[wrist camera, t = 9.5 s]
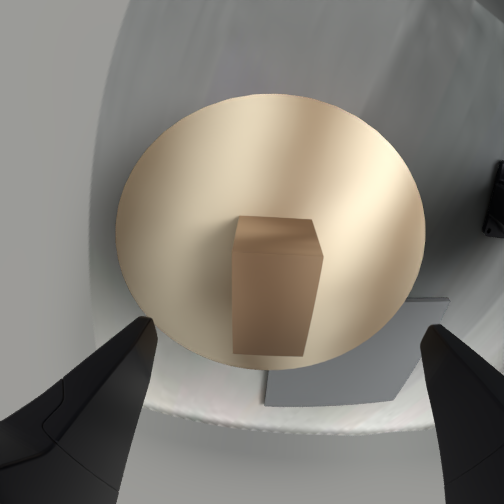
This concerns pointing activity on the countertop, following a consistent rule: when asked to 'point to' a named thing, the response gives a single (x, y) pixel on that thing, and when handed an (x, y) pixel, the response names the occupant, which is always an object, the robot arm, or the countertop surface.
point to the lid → (270, 232)
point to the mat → (361, 364)
